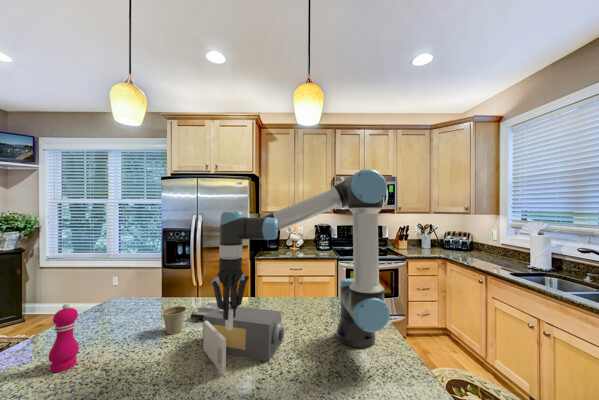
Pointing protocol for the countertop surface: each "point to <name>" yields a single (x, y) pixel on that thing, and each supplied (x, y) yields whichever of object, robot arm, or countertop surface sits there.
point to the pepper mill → (64, 340)
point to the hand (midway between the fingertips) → (228, 328)
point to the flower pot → (174, 319)
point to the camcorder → (204, 310)
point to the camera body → (250, 332)
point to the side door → (215, 346)
